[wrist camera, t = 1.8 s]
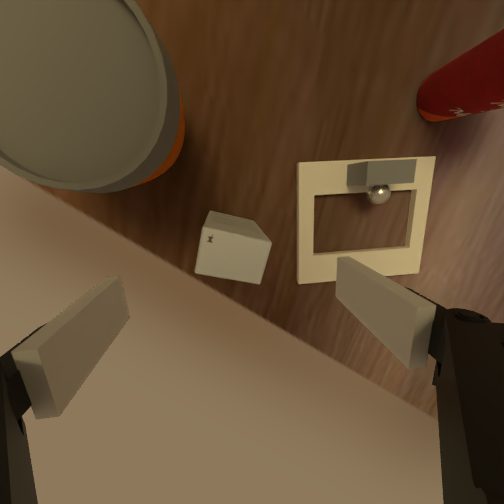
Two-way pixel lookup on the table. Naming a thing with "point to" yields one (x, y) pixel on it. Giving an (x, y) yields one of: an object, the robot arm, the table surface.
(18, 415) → the robot arm
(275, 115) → the table surface
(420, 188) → the socket board
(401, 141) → the table surface
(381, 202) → the silver metal knob
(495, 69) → the paper cup
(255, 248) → the skincare box
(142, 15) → the reusable coffee cup
